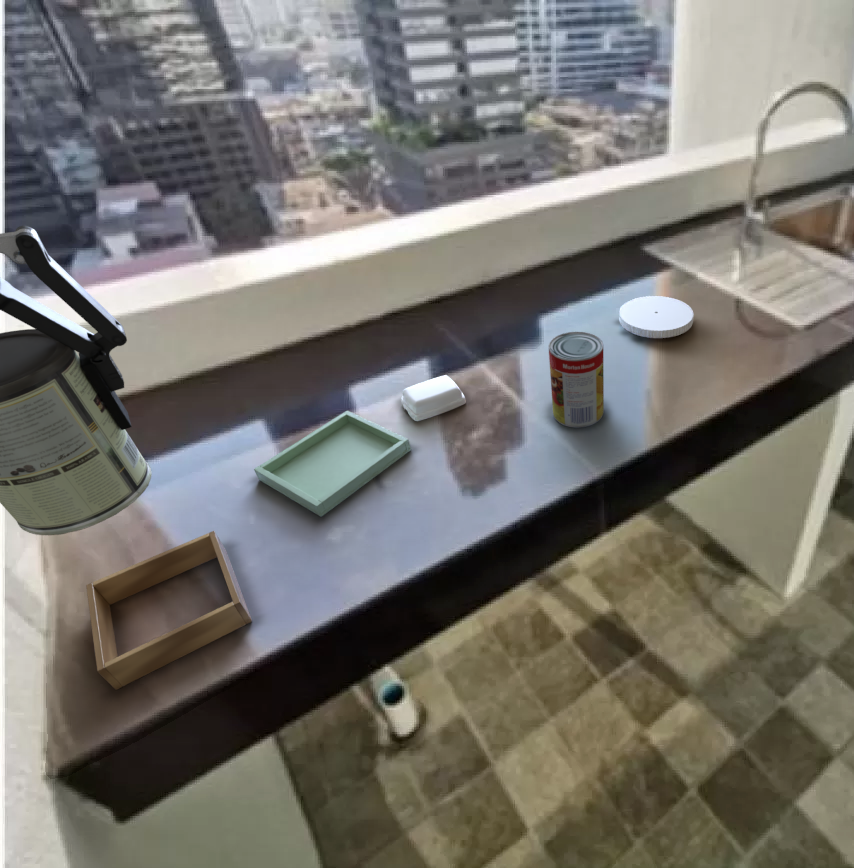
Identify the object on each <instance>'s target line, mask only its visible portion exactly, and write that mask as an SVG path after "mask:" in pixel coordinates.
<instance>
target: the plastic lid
mask: <svg viewBox="0 0 854 868" xmlns="http://www.w3.org/2000/svg"><path fill="white" fill-rule="evenodd" d="M694 317H695V313H694V311H693V308H692V307H691V306H690V305H688V303H686V302H684V301H682V300H680V299H677V298H673V297H671V296H669V297H668V296H661V295H647V296H645V295H644V296H640V297H636V298H633V299H631V300H628V301H626V302H624V303H623V304H622V305H621V306H620V308H619V312H618V321H619V322H618V323H619V324H620V326H621V327H622V328H623V329H624V330H626V331H627V332H629V333H631V334H634V335H635V336H636V335H637V336H640V337H644V338H648V339H649V338H650V339H663V338H664V339H666V338H667V339H669V338H673V337H676V336H679V335H681V334H684V333H686V332H688V331H689V330H690V329H691V328H692V326H693V324H694Z"/></svg>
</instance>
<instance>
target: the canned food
mask: <svg viewBox="0 0 854 868" xmlns="http://www.w3.org/2000/svg"><path fill="white" fill-rule="evenodd" d="M548 360H549V361H548V362H549V371H550V372H549V374H550V389H551V390H550V391H551V402H552V415H553V418H554V419H555V421H557V422H558V423H559V424H560V425H563V426H565V427H570V428H576V429H577V428H579V429H580V428H585V427H591V426H593V425H595V424H596V423H598V422H599V421H600V420H601V419H602V417H603V416H604V412H605V411H604V409H605V408H604V407H605V405H604V394H605V393H604V391H605V389H604V379H605V377H604V343H603V340H602V339H601V338H600V337H599V336H597V335H595V334H593V333H591V332H586V331H568V332H563V333H561V334H558V335H556V336H554V337H553V338H552V339H551V340H550V341H549V343H548Z"/></svg>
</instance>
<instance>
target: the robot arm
mask: <svg viewBox="0 0 854 868" xmlns="http://www.w3.org/2000/svg"><path fill="white" fill-rule="evenodd" d="M37 232H38V231H36V229H34V228H32V226H28V225H20V226H18V227H17V228H15V231H11V232H10V231H9V232H1V233H0V254H3V255H5V256H7V257H8V259H10V260H11V261H12V262H13V263H15V264H18V265H27V267H28V268H29V269H30V270H31V272H32V273H33V274H34V276H36V277H37V278H38V279H39V281H41V282H42V283H43V284H45V286H46V287H47V288H49V289H50V291H52V292H53V293H54V294H55V295H56V296H58V298H60V299H61V300H62V301H63V302H64V303H65V304H66V305H67V306H69V307H70V308H71V310H73V311H74V312H75V313H76V314H77V315H78V316H79V317H81V318H82V319H83V320H84V321H85V322H86V323H87V324H88V325H90V326H91V328H93V329H94V330H95V331H96V332H95V333H93V332H91V331H90V330H88V329H86V328H85V327H83V326H82V325H79V324H78V323H76V322H75V321H72V320H71V319H68V318H67V317H66V316H64V315H62V314H60V313H58V312H57V311H55V310H54V309H51V308H49V307H48V306H46V305H45V304H44V303H41V302H40V301H38V300H36V299H34V298H33V297H31V296H29V295H27V294H26V293H24V292H22V291H21V290H19V289H17V288H15V287H14V286H13V285H12V284H11V283H10V282H9V281H7V280H5V279H3V278H2V277H0V311H2V312H4V313H5V314H7V315H9V316H11V317H12V318H14V319H16V320H18V321H20V322H21V323H24V324H25V325H27V326H29V327H31V328H32V329H36V330H38V331H40V332H42V333H44V334H46V335H47V336H49V337H51V338H53V339H55V340H57V341H59V342H60V343H62V344H64V345H66V346H68V347H70V348H71V349H73V350H75V352H76V353H78V356H79V358H80V363H81V367H82V369H83V370H84V372H85V374H86V375H87V377H88V378H89V380H90V381H91V383H92V385H93V386H94V388H95V389H96V391H97V392H98V394H99V396H100V397H101V399H102V400H103V402H104V403H105V405H106V406H107V408H108V410H109V411H110V413H111V414H112V416H113V417H114V419H115V421H116V422H117V424H118V425H119V427H120V428H121V430H124V429H125V430H128V429H130V428H133V427H132V423H131V419H130V416H129V412H128V411H127V409H126V407H125V405H124V404H123V402H122V401H121V399H120V397H119V396H118V394H117V393H116V391H119V390H122V389H125V381H124V377H123V374H122V373H121V371H120V369H119V368H118V366H117V364H116V362H115V360H114V359H113V357H112V356H111V354H110V353H111V351H112V350H114V349H115V348H117V347H122V346H124V345H125V344H127V342H128V339H127V335H126V332H125V328H124V326H123V324H122V323H121V322H119V320H118V319H116V318H115V317H114V316H113V315H112V313H110V312H109V311H108V310H107V309H106V308H105V307H104V306H103V305H102V304H101V303H100V302H99V301H98V300H96V298H95V297H93V296H92V295H91V294H90V293H89V292H88V291H87V290H86V289H85V288H84V287H83V286H82V285H81V284H80V283H79V282H77V280H75V279H74V278H73V276H72V275H70V274H69V273H68V272H67V271H66V270H65V269H64V268H63V267H62V266H61V265H60V264H59V263H57V261H56V260H54V258H52V257H51V256H50V255H49V253H48V251H47V250H46V248H45V246H44V244H43V242H42V240H41V238H40V236H39V234H38V233H37Z"/></svg>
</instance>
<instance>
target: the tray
mask: <svg viewBox="0 0 854 868" xmlns="http://www.w3.org/2000/svg"><path fill="white" fill-rule="evenodd" d="M411 446H412V445H411V443H410V439H409V438H407V437H405V436H403V435H400V434H398V433H396V432H394V431H392V430H391V429H389V428H385V427H383V426H381V425H379V424H377V423H375V422H373V421H371V420H369V419H366V418H365V417H362V416H360V415H357V414H356V413H354V412H352V411H350V410H346V411H344V412H343V413H340V414H339V415H337V416H336V417H334V418H333V419H331V420H330V421H327V422H326V423H325V424H323V425H322V426H320V427H319V428H317V429H316V430H314V431H312V432H310V433H309V434H307V435H306V436H305V437H302V438H301V439H300V440H298V441H297V442H295V443H293V444H292V445H290V446H288V447H287V448H285V449H284V450H281V452H279V453H277V454H276V455H273V456H272V457H271V458H270V459H267V460H266V461H265V462H263V463H262V464H260V465H258V466H256V467H254V469H253V471H254V473H255V475H256V477H257V479H258V480H259V481H260V482H262V483H263V484H265V485H267V486H269V487H270V488H272V489H273V490H275V491H277V492H279V493H280V494H281V495H283V496H285V497H287V498H288V499H290V500H292V501H293V502H295V503H297V504H299V505H300V506H302V507H303V508H305V509H307V510H309V511H310V512H312V513H314V514H315V515H317V516H319V517H320V518H322V517H324V516H325V515H326V514H328V513H329V512H330V511H332V510H333V509H334V508H336V507H337V506H338V505H340V504H341V503H342V502H344V501H345V500H346V499H348V498H349V497H350V496H352V495H353V494H354V493H356V492H357V491H358V490H360V489H362V487H364V486H365V485H366V484H368V483H370V482H371V481H372V480H373V479H374V478H376V477H377V476H379V475H380V474H382V473H383V472H384V471H385V470H386V469H388V468H389V467H391V466H392V465H393V464H394V463H396V462H397V461H398V460H400V459H401V458H402V457H404V456H405V455H406V454H408V453H409V452H410V451H412V447H411Z"/></svg>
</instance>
